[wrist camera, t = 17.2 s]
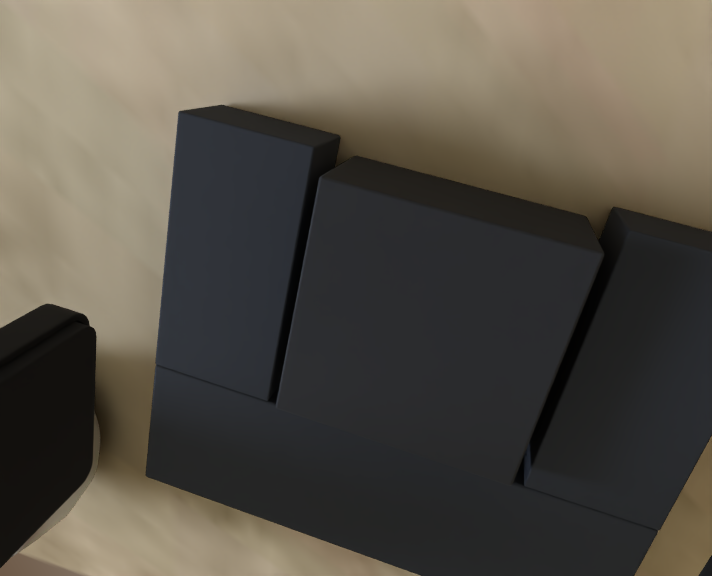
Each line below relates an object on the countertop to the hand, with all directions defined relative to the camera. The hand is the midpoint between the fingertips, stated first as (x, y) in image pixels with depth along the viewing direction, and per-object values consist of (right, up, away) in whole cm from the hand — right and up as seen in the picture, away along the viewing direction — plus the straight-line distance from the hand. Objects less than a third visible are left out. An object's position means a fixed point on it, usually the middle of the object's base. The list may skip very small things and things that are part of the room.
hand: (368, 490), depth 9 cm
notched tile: (+2, +1, +10) cm, 10 cm away
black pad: (+2, +3, +9) cm, 10 cm away
